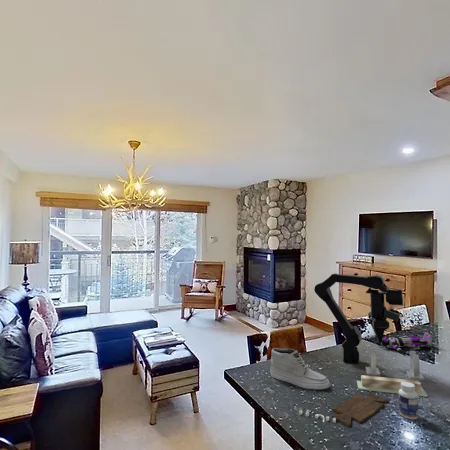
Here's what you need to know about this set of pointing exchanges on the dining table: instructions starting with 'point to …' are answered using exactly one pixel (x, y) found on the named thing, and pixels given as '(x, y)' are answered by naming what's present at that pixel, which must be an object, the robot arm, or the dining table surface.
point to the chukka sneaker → (295, 370)
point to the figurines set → (316, 416)
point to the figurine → (405, 342)
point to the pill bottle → (408, 401)
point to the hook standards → (412, 374)
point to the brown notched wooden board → (358, 408)
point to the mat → (387, 390)
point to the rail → (387, 383)
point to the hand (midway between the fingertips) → (378, 338)
